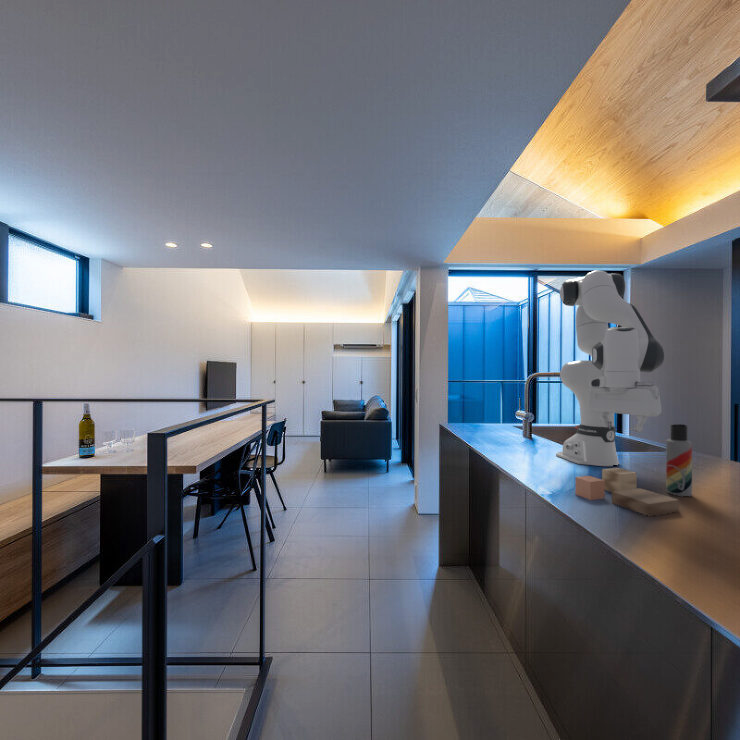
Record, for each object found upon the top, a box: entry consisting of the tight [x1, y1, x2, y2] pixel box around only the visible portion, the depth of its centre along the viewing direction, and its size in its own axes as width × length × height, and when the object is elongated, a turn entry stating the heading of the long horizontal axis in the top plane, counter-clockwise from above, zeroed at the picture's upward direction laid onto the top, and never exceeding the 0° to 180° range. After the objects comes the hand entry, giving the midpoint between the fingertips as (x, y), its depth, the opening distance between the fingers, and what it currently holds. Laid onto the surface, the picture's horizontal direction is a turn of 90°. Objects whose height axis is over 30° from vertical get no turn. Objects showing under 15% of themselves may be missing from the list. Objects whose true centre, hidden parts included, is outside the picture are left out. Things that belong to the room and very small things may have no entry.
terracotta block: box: [574, 475, 606, 501], centre depth 107 cm, size 5×5×5 cm
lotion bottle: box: [665, 423, 693, 497], centre depth 109 cm, size 6×6×20 cm
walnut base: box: [611, 487, 680, 517], centre depth 98 cm, size 10×10×3 cm
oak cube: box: [601, 467, 638, 493], centre depth 112 cm, size 6×6×6 cm
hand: (622, 429), depth 111 cm, fingers open, 8 cm apart
